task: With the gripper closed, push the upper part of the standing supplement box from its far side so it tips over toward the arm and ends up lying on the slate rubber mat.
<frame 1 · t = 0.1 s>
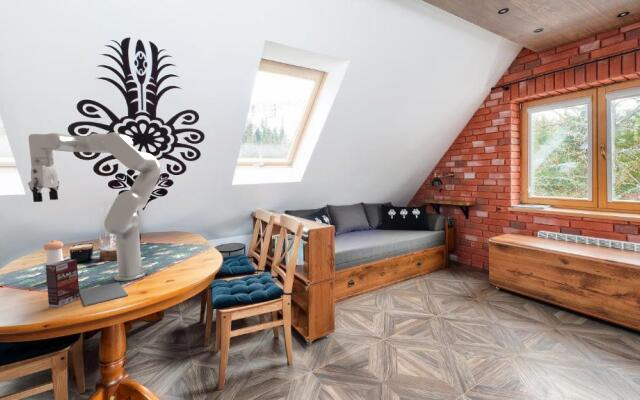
hand: (46, 200, 140), 37 cm above the table, tool pointing down, fingers open, 9 cm apart
supplement box: (65, 302, 119), on the table
pepper shaker: (57, 281, 144), on the table
mat: (102, 293, 127), on the table
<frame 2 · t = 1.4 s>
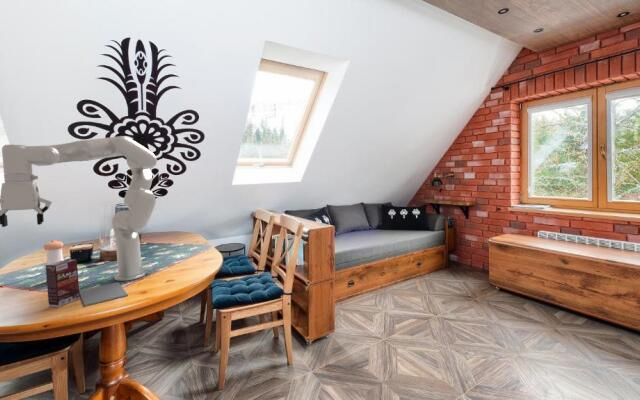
hand: (22, 225, 115), 30 cm above the table, tool pointing down, fingers open, 9 cm apart
nothing on the table moved.
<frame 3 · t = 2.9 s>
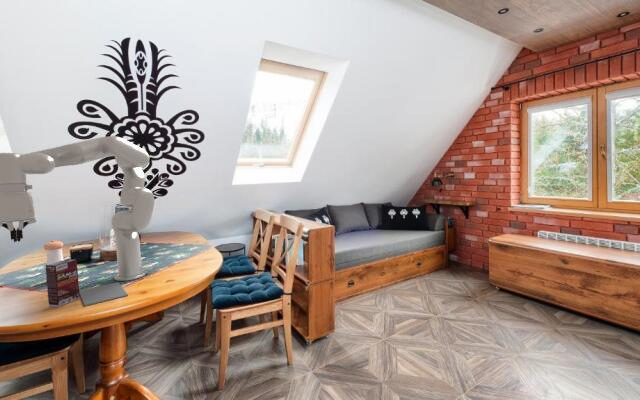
hand: (17, 241, 109), 26 cm above the table, tool pointing down, fingers closed
nothing on the table moved.
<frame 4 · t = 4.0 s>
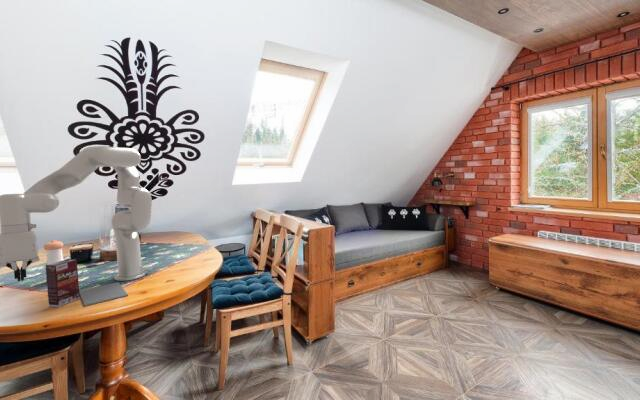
hand: (20, 279, 110), 12 cm above the table, tool pointing down, fingers closed
nothing on the table moved.
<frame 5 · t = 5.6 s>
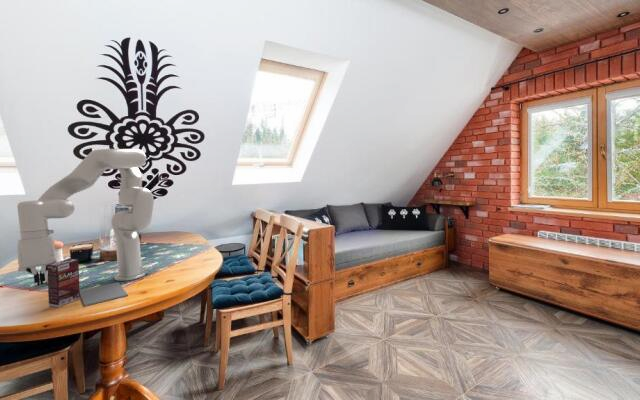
hand: (40, 283, 114), 9 cm above the table, tool pointing down, fingers closed
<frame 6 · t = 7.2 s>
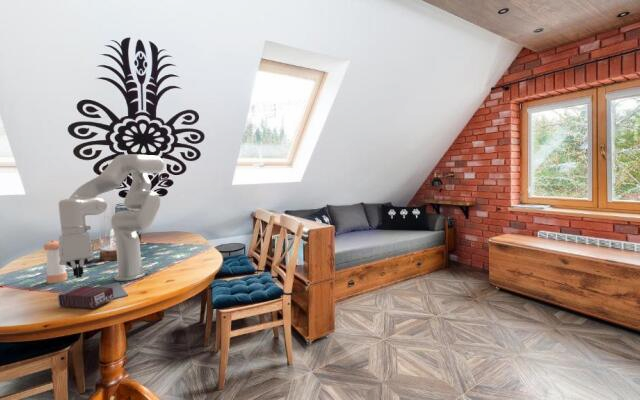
hand: (78, 276, 122), 9 cm above the table, tool pointing down, fingers closed
supplement box: (68, 296, 119), point 3 cm above the table, touching mat
everything else where it was.
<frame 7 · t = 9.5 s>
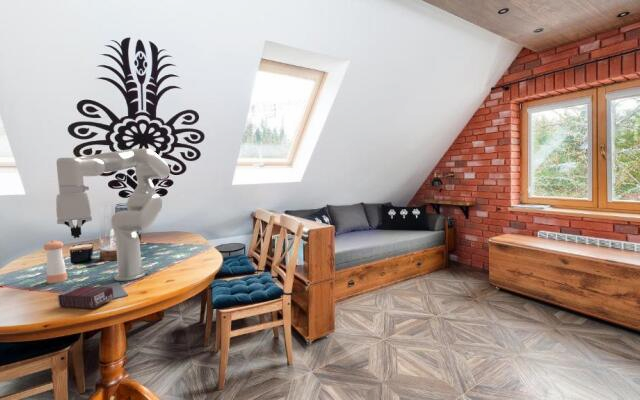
hand: (76, 237, 121), 25 cm above the table, tool pointing down, fingers closed
nothing on the table moved.
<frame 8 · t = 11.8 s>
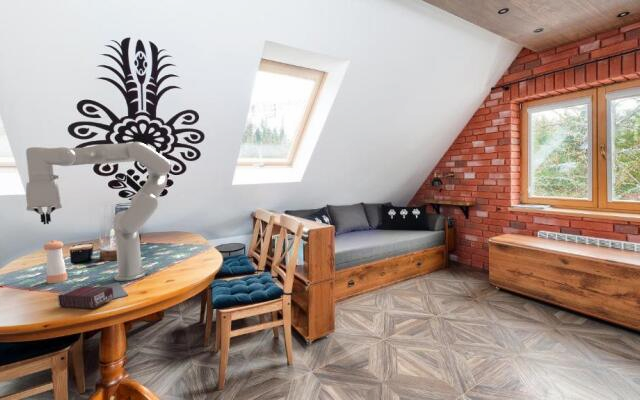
hand: (46, 223, 126), 29 cm above the table, tool pointing down, fingers closed
nothing on the table moved.
at the end: supplement box tilted 88°; supplement box touching mat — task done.
